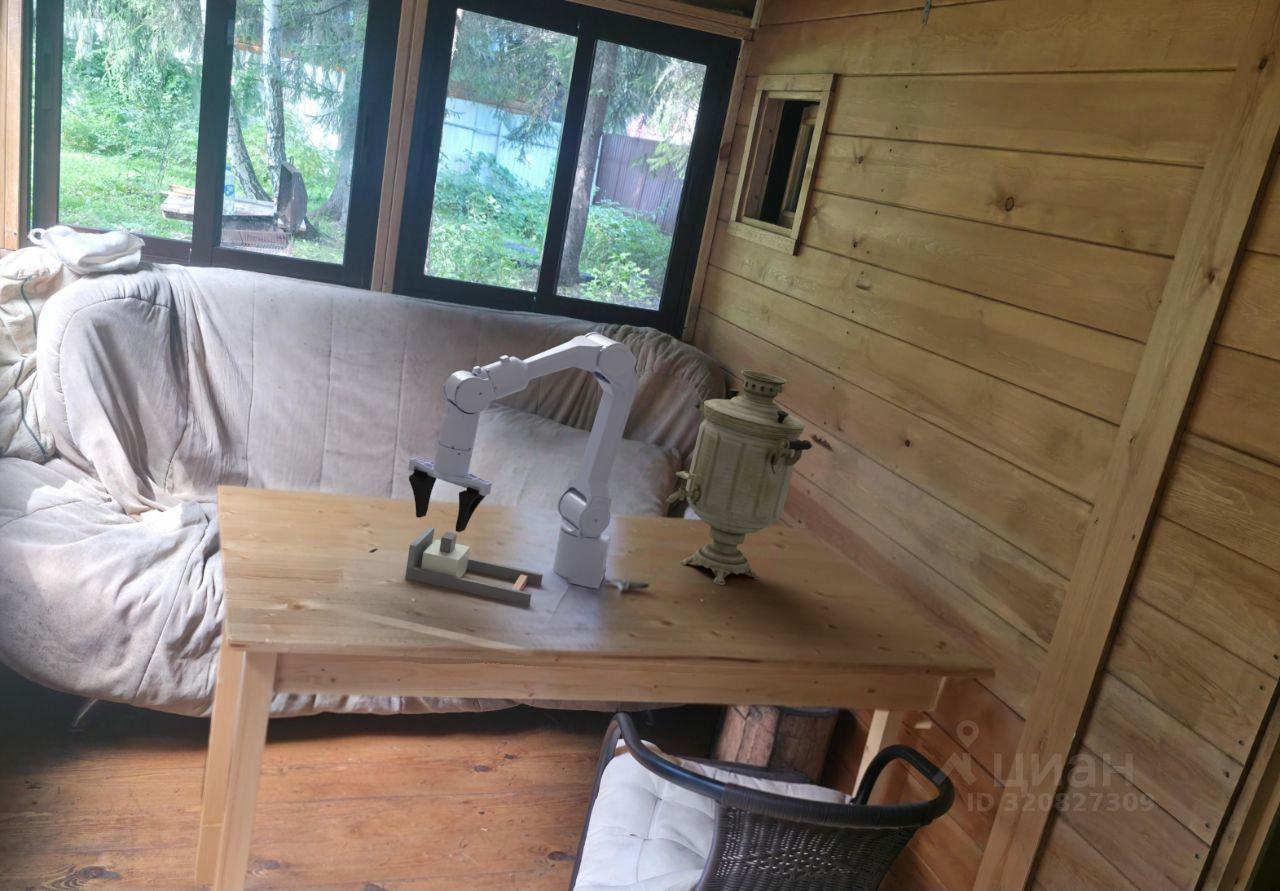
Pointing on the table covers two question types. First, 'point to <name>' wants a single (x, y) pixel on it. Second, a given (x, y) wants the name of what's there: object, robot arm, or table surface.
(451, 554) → the pale green knobbed block
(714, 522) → the samovar
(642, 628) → the table surface
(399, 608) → the table surface
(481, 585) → the bay
